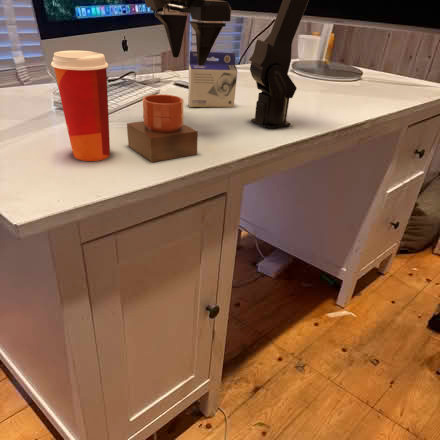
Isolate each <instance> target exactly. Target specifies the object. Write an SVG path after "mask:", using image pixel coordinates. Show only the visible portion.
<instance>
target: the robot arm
mask: <svg viewBox="0 0 440 440" xmlns="http://www.w3.org/2000/svg"><path fill="white" fill-rule="evenodd" d="M144 2H145V6H146V8H147V9H149V8H150V11H151V12H156V13H153V15H154V16H155V18H157V19H158V20H159V21H160V22H161V23H162V25H163V26H164V30H165V34H166V37H167V41H168V43H169V47H170V51H171V55H172V57H173V58H174V59H175V58H179V57H180V53H181V49H182V44H183V39H184V35H185V31H186V30H185V29H186V26H187V21H188V15H187V14H190V17H191V19H192V20H189V24H190V25H191V28H192V29H193V30H194V32H195V41H196V42H195V43H196V51H197V61H198V65H199V66H203V65H204V64H205V62H206V59H207V60H208V58H207V57H208V55H209V53H210V52H212V51H211V50H212V48H213V47H214V45H215V43H216V40H217V39H218V37H219V35H220V33H221V31H222V30H223V28H225V27H226V25H227V23H226V22H231V20H232V19H231V17H232V7H231V6H230V3H229V2H228V1H226V0H144ZM309 2H310V0H282V1H281V4H280V7H279V9H278V12H277V15H276V18H275V20H274V23H273V25H272V28H271V30H270V32H269V34H268V36H266V38H265V39H264V40H261V39H257V40H256V42H255V45H254V49H253V53H252V54H251V56H250V57H249V59H248V61H249V62H250V67H249V72H250V75H251V78H252V79H253V81H255V85H256V89H257V90H259V91H261V92H258V96H257V101H256V104H255V113H254V117H253V118H251V119H250V122H252V123H253V124H257V125H259V126H262V127H263V128H266V129H276V128H283V127H288V126H289V127H290V126H291V122H289V121H287V117H288V111H289V110H288V109H289V104H290V99H293V98H294V95H295V93H296V91H297V89H298V88H297V86H296V84H295V83H294V82H293V79H291V77H290V75H289V71H290V67H291V63H292V50H293V42H294V39H295V36H296V34H297V32H298V29H299V26H300V24H301V21H302V19H303V16H304V13H305V11H306V9H307V6H308V3H309ZM182 13H187V14H182Z"/></svg>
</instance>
